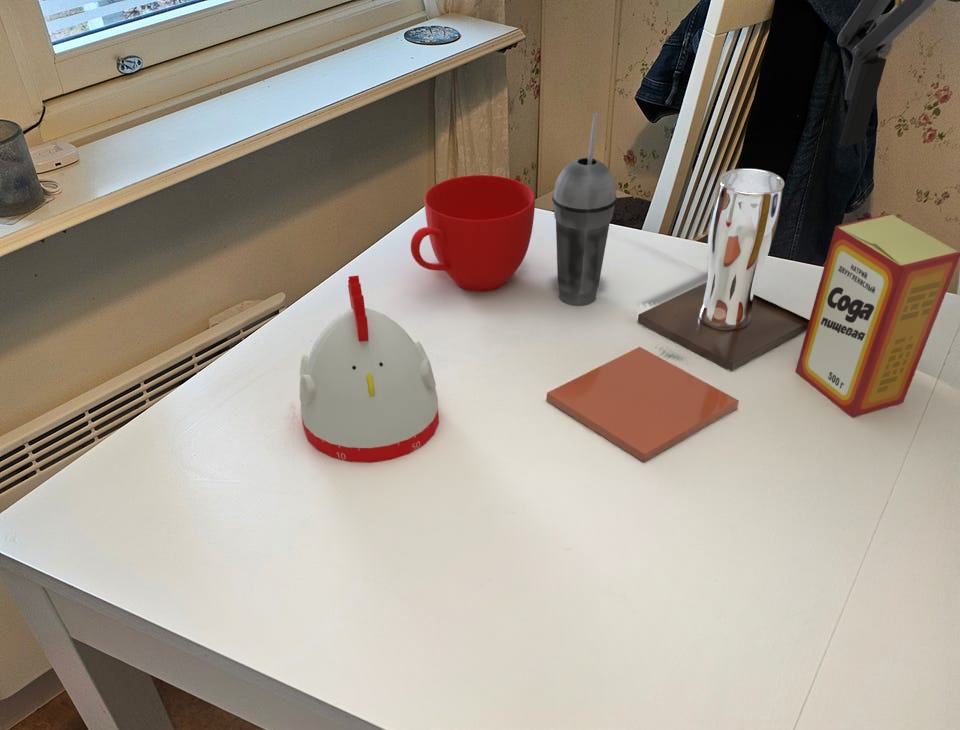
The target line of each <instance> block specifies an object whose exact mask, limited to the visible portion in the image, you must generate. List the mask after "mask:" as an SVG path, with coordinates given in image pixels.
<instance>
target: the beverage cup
mask: <svg viewBox="0 0 960 730" xmlns="http://www.w3.org/2000/svg"><path fill="white" fill-rule="evenodd" d="M598 120H599V111H593V115H592V122H591V123H592V124H591V131H590V140H589V146H588V154H587V157H581V158H577V159H574V160H573V161H571V162H570V163H568V164H567V165H566V166H565V167H564V168H563V169H562V170H561V172H560V173H559V175H558V177H557V178H556V181H555V185H554V189H553V193H552V198H551V202H552V203H553V207H552V208H553V217H554V219H555V235H556V236H555V238H556V241H555V242H556V269H557V271H556V272H557V286H558V298H559V300H560V302H562V303H564V304H566V305H570V306H576V307H582V306H587V305H591V304H592V303H595V301H596V299H597V293H598V288H599V285H600V280H601V274H602V269H603V263H604V262H603V261H604V257H605V251H606V246H607V241H608V234H609V229H610V223H611V221H612V219H613V216H614V213H615V207H616V204H617V203H618V201H617V200H618V197H617V187H616V182H615V178H614V176H613V174H612V172H611V171H610V169H609V168H608V166H607V165H605V163H603V162H602V161H600V160H598V159H596V158H593V157H594V149H595V142H596V134H597V126H598Z"/></svg>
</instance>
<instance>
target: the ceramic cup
mask: <svg viewBox="0 0 960 730" xmlns="http://www.w3.org/2000/svg"><path fill="white" fill-rule="evenodd" d="M424 210H425V211H424V212H425V219H426V220H425V221H426V226H424V227H421V228H419V229H418V230H416V231H415V232H414V234H413V236H412V237H411V240H410V252H411V255H412V258H413V259H414V261H415V263H416V264H418V265H419V266H420V267H421V268H424V269H426V270H429V271H437V272H441V271H442V272H443V271H444V273H446V274H447V275H448V277H450V279H452V281H453V282H454V283H455V285H456V286H458V287H459V288H461V289H463V290H466V291H469V292H475V293H476V292H479V293H481V292H485V293H486V292H491V291H495V290H497V289H500V288H502V287H504V286H505V285H506V283H507V282H508V280H510V278H511V277H512V276H513V275H515V273H516V271H517V270H518V269H519V268H520V266H521V264H522V263H523V261H524V259H525V257H526V255H527V252H528V250H529V246H530V242H531V238H532V233H533V227H534V218H535V210H536V197H535V194H534V192H533V191H532V189H531V188H530V187H529V186H528V185H526V184H525V183H523V182H520V181H519V180H516V179H512V178H509V177H504V176H500V175H489V174H473V175H472V174H471V175H465V176H458V177H453V178H449V179H447V180H446V179H445V180H443V181H441V182H438V183H437V184H435V185H433V186H432V187H431V188H429V190H427V191H426V194H425V196H424ZM427 236H428V237H429V242H430V245H431V248H432V252H433V254H434V256H435V258H436V260H437V262H435V263H434V262H429V261H426V260H425V259H423V257H422V255H421V244H422V241H423V239H425V238H426V237H427Z"/></svg>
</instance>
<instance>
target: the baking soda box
mask: <svg viewBox="0 0 960 730" xmlns="http://www.w3.org/2000/svg"><path fill="white" fill-rule="evenodd" d="M959 261H960V252H959V251H958V250H956V249H954V248H952V247H951V246H949V245H947V244H945V243H943V242H941V241H940V240H939V239H937V238H935V237H933V236H931V235H929V234H928V233H927V232H924V231H922V230H920V229H918V228H917V227H915V226H913V225H912V224H909V223H908V222H906V221H904V220H902V219H901V218H900V217H897V216H895V215H894V214H892V213H887V214H882V215H878V216H873V217H869V218H865V219H859V220H856V221H851V222H847V223H842V224H838V225H835V227H834V230H833V233H832V237H831V241H830V245H829V248H828V252H827V256H826V259H825V262H824V266H823V269H822V273H821V276H820V281H819V284H818V289H817V291H816V295H815V299H814V302H813V306H812V309H811V312H810V317H809V323H808V327H807V330H805V335H804V338H803V342H802V346H801V348H800V353H799V356H798V359H797V363H796V367H795V370H794V372H795V373H796V374H797V375H798V376H800V377H801V378H802V379H803V380H804V381H806V382H807V383H809V385H811V386H812V387H813V388H815V390H817V391H819V392H820V393H821V394H822V395H824V397H826V398H827V399H829V401H831V402H832V403H833V404H835V405H836V406H837V407H839V409H841V410H842V411H843V412H845V413H846V414H847V415H848V416H849V417H850V418H856V417H860V416H862V415H866V414H868V413H872V412H875V411H879V410H883V409H887V408H889V407H892V406H897V405H898V404H902V403H904V402H905V399H906V396H907V394H908V391H909V389H910V387H911V384H912V381H913V378H914V376H915V373H916V371H917V368H918V366H919V363H920V360H921V359H922V355H923V353H924V350H925V348H926V345H927V342H928V340H929V338H930V335H931V333H932V330H933V327H934V324H935V322H936V319H937V317H938V314H939V312H940V309H941V307H942V304H943V302H944V299H945V297H946V294H947V291H948V289H949V287H950V284H951V281H952V279H953V276H954V273H955V270H956V268H957V265H958V263H959Z"/></svg>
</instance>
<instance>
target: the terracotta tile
mask: <svg viewBox="0 0 960 730" xmlns="http://www.w3.org/2000/svg"><path fill="white" fill-rule="evenodd" d="M545 401H546V402H548V403H549V404H551V405H552V406H554V407H555V408H557V409H559V410H560V411H562V412H563V413H565V414H567V415H568V416H570V417H571V418H573V419H575V420H577V421H578V422H579V423H581V424H583V425H584V426H586V427H587V428H588V429H590V430H591V431H594V432H595V433H597V434H598V435H600V436H601V437H603V438H604V439H606V440H607V441H609V442H611V443H612V444H614V445H615V446H617V447H619V448H620V449H622V450H623V451H625V452H627V453H628V454H630V455H631V456H633V457H634V458H636V459H637V460H639V461H641V462H643V463H645V462H647V461H648V460H651V459H652V458H654V457H656V456H657V455H659V454H661V453H662V452H664V451H666V450H667V449H670V448H671V447H674V446H675V445H676V444H678V443H680V442H681V441H683V440H685V439H687V438H689V437H690V436H692V435H694V434H695V433H697V432H699V431H701V430H702V429H704V428H707V427H708V426H709V425H711V424H713V423H714V422H716V421H718V420H720V419H722V418H723V417H725V416H727V415H729V414H730V413H732V412H734V411H735V410H737V409H738V407H739V403H740V401H739V399H737V398H735V397H733V396H731V395H730V394H729V393H726V392H725V391H723V390H720V389H718V388H717V387H715V386H713V385H711V384H710V383H707V382H706V381H704V380H702V379H700V378H699V377H696V376H695V375H693V374H691V373H689V372H687V371H686V370H684V369H682V368H680V367H678V366H677V365H675V364H673V363H671V362H670V361H667V360H665V359H663V358H661V357H659V356H658V355H656V354H654V353H652V352H650V351H648V350H647V349H645V348H643V347H642V346H638V347H636V348H633V349H632V350H630V351H628V352H625V353H624V354H622V355H620V356H618V357H615V358H613V359H612V360H610V361H608V362H606V363H604V364H602V365H600V366H598V367H596V368H594V369H592V370H590V371H587V372H586V373H584V374H582V375H579V376H578V377H576V378H573V379H572V380H569V381H567V382H565V383H564V384H561V385H560V386H557V387H556V388H553V389H552V390H550V391H547V392H546V400H545Z"/></svg>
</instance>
